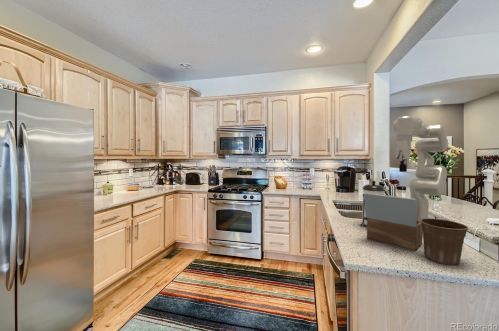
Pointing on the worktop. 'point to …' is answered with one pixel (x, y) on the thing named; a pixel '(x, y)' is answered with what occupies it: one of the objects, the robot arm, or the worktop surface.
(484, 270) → the worktop surface
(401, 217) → the lid
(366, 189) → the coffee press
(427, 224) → the plant pot
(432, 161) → the robot arm
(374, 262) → the worktop surface
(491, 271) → the worktop surface
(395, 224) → the box
